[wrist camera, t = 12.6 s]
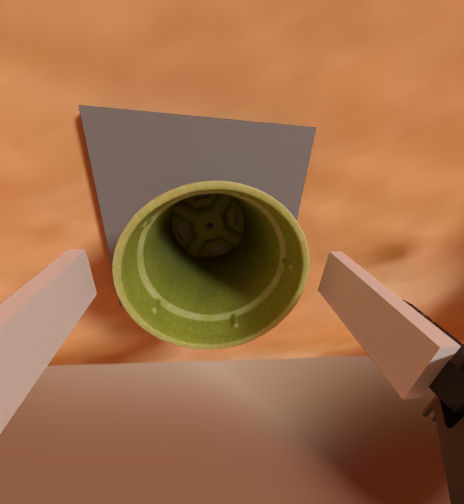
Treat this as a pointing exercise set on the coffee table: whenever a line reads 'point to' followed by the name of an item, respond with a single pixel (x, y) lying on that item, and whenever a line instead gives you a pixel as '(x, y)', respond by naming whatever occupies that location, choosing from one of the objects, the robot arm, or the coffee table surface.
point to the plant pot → (210, 265)
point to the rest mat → (187, 159)
